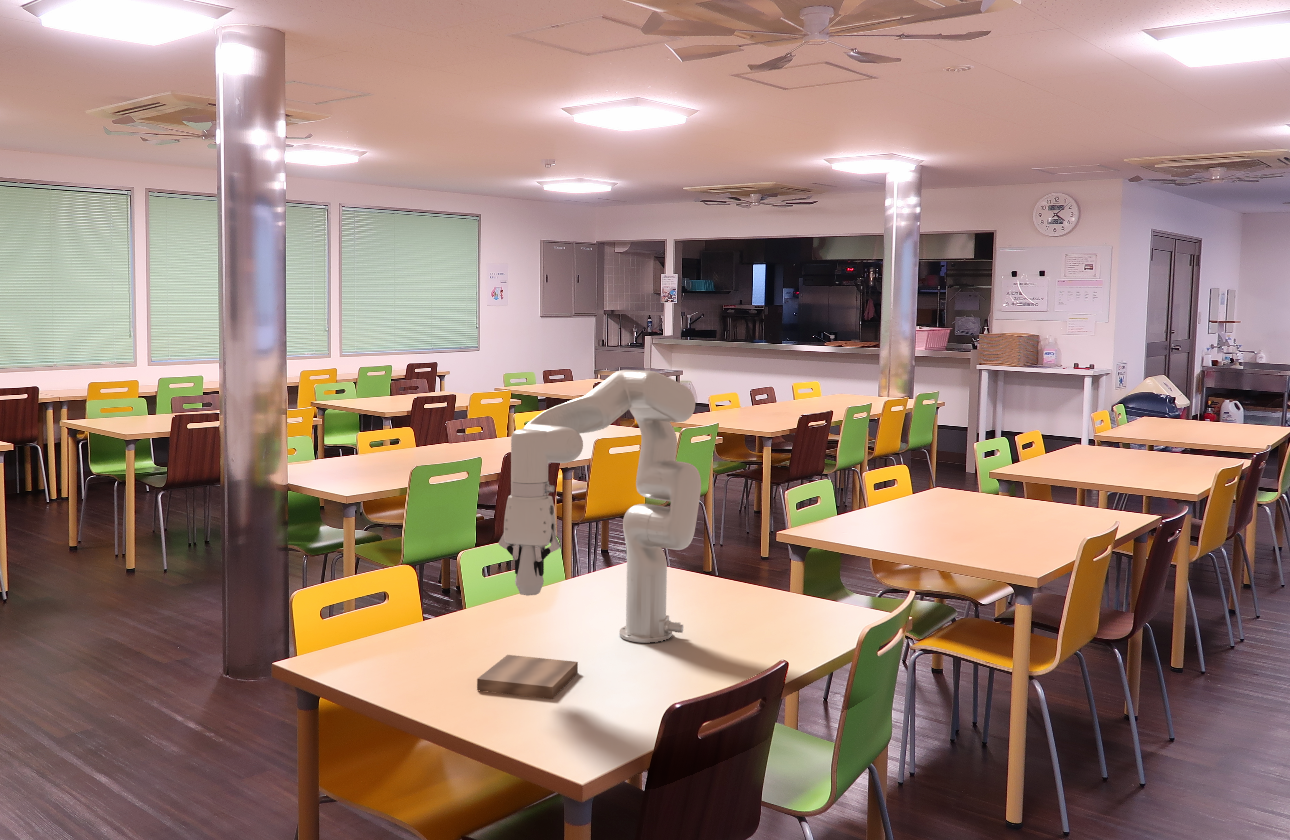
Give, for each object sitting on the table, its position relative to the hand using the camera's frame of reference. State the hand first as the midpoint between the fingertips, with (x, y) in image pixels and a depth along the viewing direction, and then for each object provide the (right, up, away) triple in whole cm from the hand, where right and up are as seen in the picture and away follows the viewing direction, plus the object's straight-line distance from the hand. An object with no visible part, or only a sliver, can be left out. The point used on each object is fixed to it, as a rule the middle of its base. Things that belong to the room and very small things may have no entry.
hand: (529, 577), depth 213 cm
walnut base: (0, -22, +2) cm, 23 cm away
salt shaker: (0, -3, 0) cm, 3 cm away
